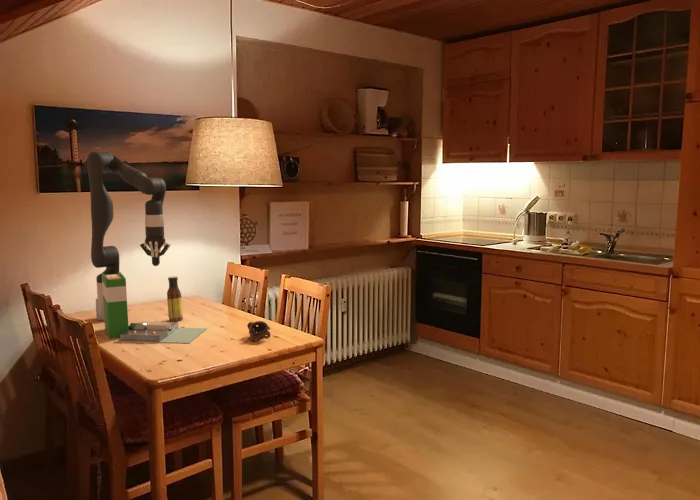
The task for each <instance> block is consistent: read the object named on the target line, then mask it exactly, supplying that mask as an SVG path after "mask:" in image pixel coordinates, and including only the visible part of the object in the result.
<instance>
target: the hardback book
mask: <svg viewBox="0 0 700 500" xmlns="http://www.w3.org/2000/svg"><path fill="white" fill-rule="evenodd" d="M101 273H102V287H103V303H104V319H105V321H104V330H105V333H106V334H108V335H107V337H108V339H109V340H112V339H113V338H115V339H120V334H122V333H124V332H125V331H127V330H129V328H128V326H129V315H128V314H129V312H128V311H129V310H128V298H127V297H128V296H127V295H128V294H127V293H128V292H127V281H126V280H127V279H126V277H125V276H124V275H123V274H122V273H121V272H120V271H119V272H118V274H112V275H105V274H104V273H103V272H101ZM113 340H114V339H113Z"/></svg>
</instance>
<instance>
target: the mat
mask: <svg viewBox="0 0 700 500" xmlns="http://www.w3.org/2000/svg"><path fill="white" fill-rule="evenodd" d="M207 330H208V328H207V327H178V329H176V330H175V331H173V332H172V333H171V334H169V335H168V336H167V337H166V338H164V339H163V340H162V341H160V342H152V341H121V340H119V342H120V343H151V344H190V343H192V342H193V341H195V339H197V338H198V337H199V336H200V335H201V334H203V333H204V332H205V331H207Z"/></svg>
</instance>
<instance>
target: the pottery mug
mask: <svg viewBox="0 0 700 500" xmlns="http://www.w3.org/2000/svg"><path fill="white" fill-rule="evenodd" d="M247 329H248V334H249V338H248V339H249V341H250V342H253V341H254V340H259V339H263V337H266V336H268V337H269V338H271V332H270V330H271V327H270V326H269V324H267V323H266V322H265V321H262V320H256V321H254V322H252V321H251V322H248V323H247Z"/></svg>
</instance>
